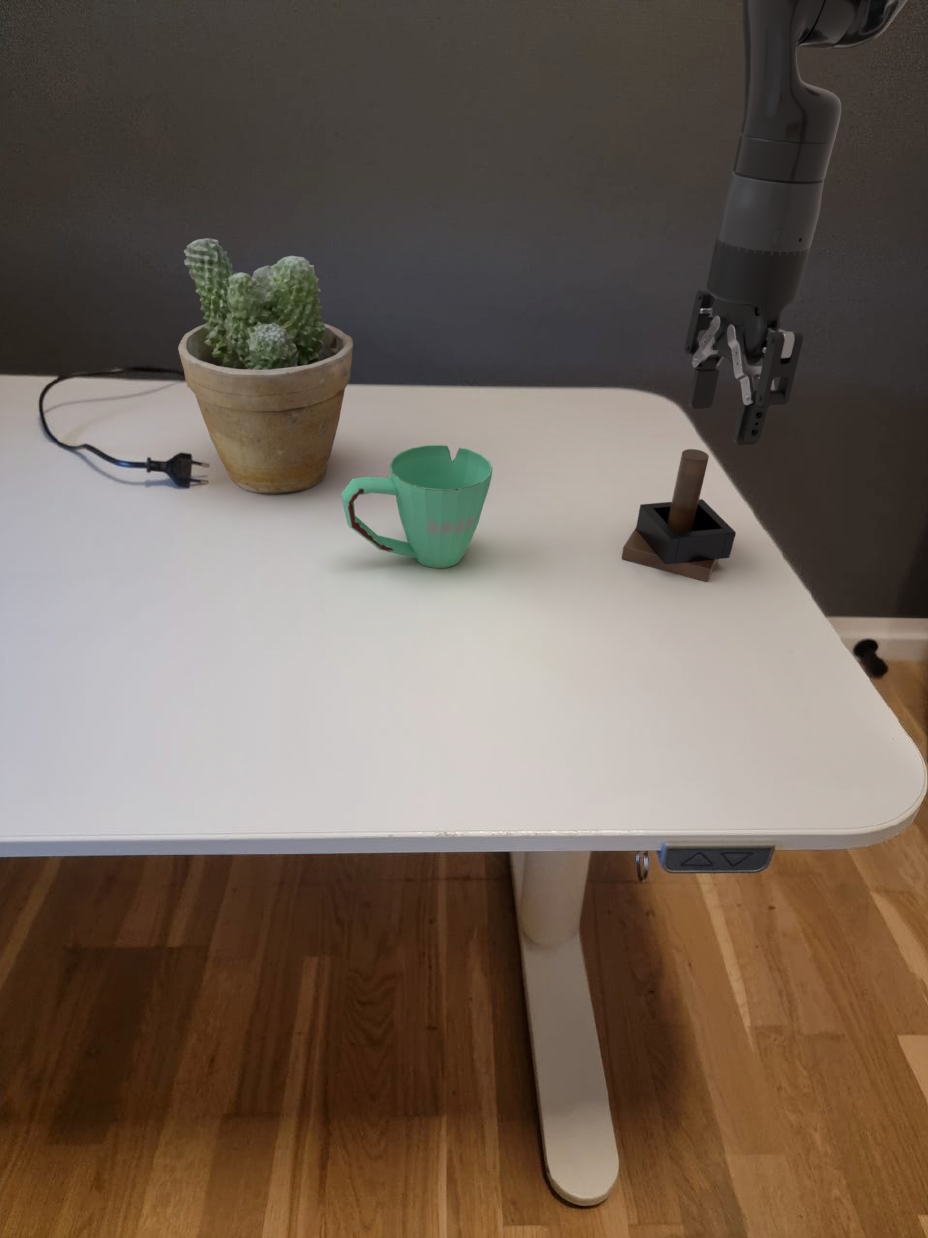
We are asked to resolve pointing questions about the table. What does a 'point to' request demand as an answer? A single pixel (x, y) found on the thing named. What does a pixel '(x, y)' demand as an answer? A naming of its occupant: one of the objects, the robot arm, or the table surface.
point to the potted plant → (265, 369)
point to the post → (677, 519)
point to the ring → (685, 534)
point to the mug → (428, 502)
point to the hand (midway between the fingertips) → (720, 424)
